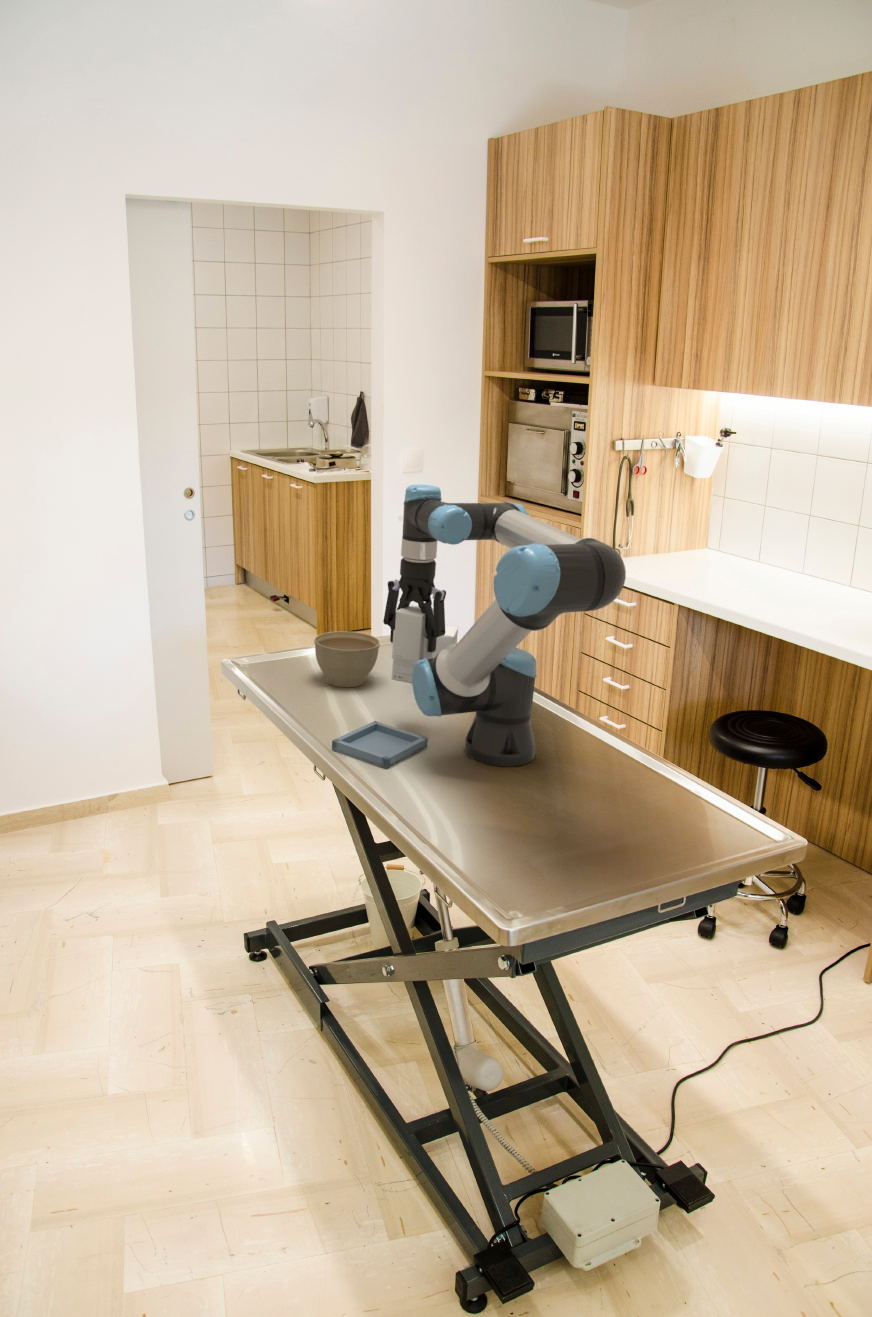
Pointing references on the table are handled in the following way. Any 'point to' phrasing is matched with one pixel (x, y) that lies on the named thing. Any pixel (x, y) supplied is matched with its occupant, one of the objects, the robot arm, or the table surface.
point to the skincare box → (408, 642)
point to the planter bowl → (346, 656)
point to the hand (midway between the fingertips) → (411, 661)
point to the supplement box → (446, 639)
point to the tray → (379, 744)
